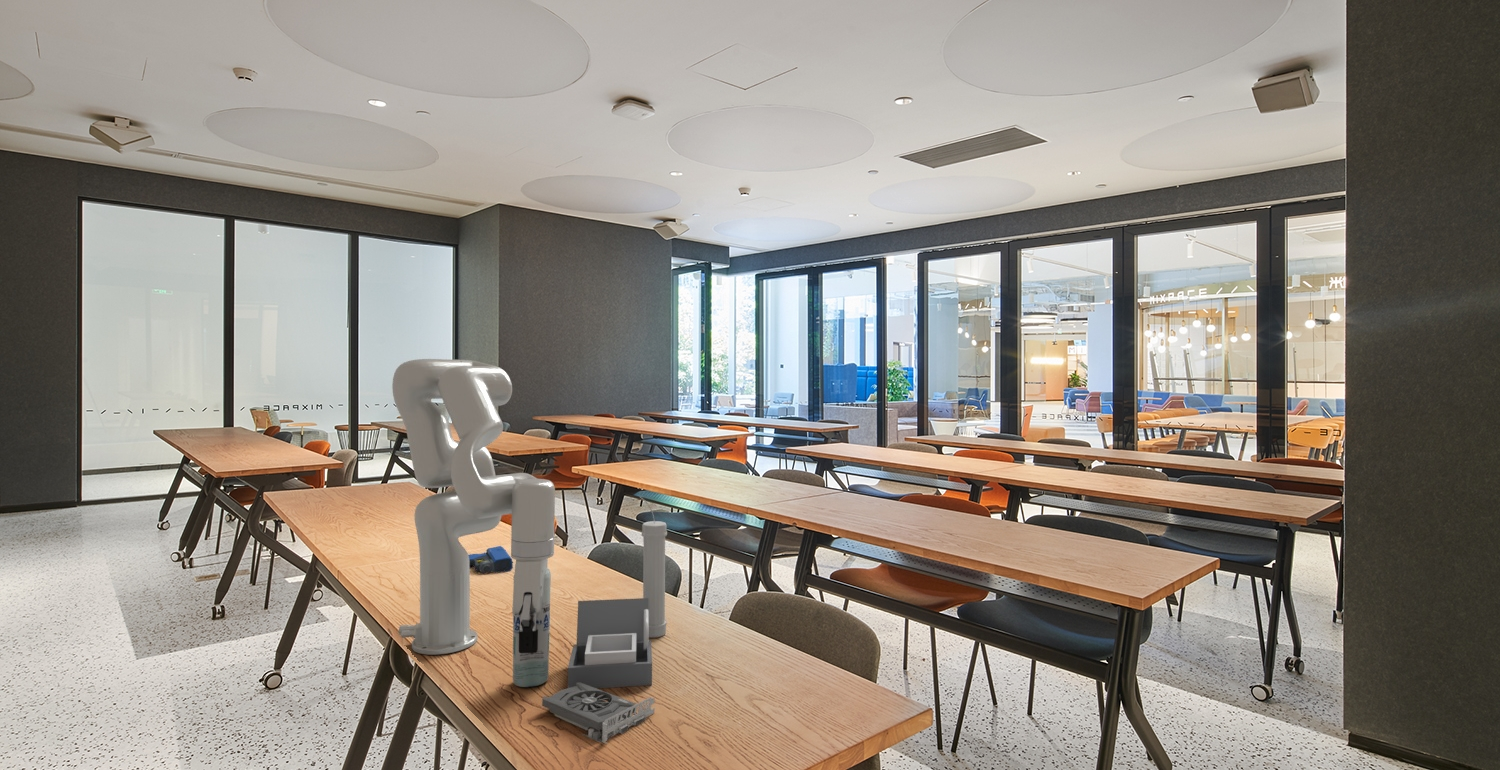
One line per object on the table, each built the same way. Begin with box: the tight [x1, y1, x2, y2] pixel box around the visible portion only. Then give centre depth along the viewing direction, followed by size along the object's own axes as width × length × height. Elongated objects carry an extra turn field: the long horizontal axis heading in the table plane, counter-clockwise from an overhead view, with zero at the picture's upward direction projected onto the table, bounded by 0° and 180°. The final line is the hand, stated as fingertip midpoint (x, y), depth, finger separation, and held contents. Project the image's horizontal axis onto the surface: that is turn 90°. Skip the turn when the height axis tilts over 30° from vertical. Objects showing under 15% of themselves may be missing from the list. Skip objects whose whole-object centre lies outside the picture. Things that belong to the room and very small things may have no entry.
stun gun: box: [468, 545, 514, 574], centre depth 206 cm, size 4×16×15 cm
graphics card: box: [541, 682, 655, 745], centre depth 118 cm, size 17×4×12 cm
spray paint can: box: [512, 567, 552, 688], centre depth 129 cm, size 6×6×20 cm
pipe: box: [639, 496, 668, 639], centre depth 154 cm, size 6×6×30 cm
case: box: [567, 597, 653, 689], centre depth 136 cm, size 15×16×11 cm
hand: (531, 643), depth 129 cm, fingers closed on spray paint can, 6 cm apart
